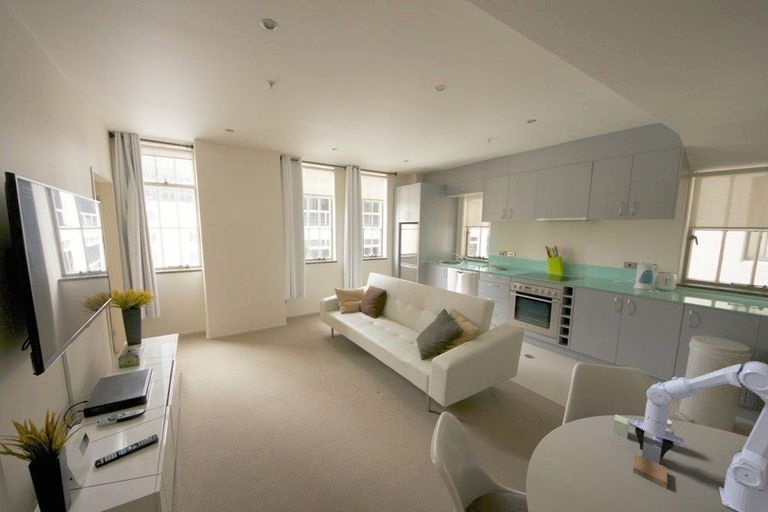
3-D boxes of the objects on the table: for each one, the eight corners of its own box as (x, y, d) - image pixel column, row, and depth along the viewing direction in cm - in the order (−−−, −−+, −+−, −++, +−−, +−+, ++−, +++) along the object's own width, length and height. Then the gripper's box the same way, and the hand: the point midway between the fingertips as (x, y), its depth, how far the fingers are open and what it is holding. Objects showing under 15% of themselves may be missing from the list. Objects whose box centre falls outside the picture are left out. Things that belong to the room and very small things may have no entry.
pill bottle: (675, 450, 104) (679, 426, 103) (659, 447, 105) (662, 424, 104) (664, 439, 109) (667, 416, 108) (648, 436, 110) (651, 414, 109)
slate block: (659, 457, 100) (661, 442, 99) (658, 465, 97) (661, 449, 96) (642, 450, 103) (644, 435, 103) (641, 457, 100) (643, 442, 100)
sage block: (628, 433, 112) (629, 419, 111) (627, 439, 109) (628, 425, 108) (613, 427, 115) (615, 414, 115) (612, 432, 112) (614, 419, 111)
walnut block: (665, 474, 94) (666, 467, 94) (666, 489, 88) (667, 482, 88) (634, 459, 100) (635, 453, 99) (632, 473, 94) (633, 467, 94)
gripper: (685, 423, 96) (679, 458, 98) (629, 403, 106) (625, 435, 108) (686, 433, 91) (680, 470, 93) (628, 411, 101) (624, 445, 103)
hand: (651, 452), depth 100 cm, fingers closed on slate block, 4 cm apart
